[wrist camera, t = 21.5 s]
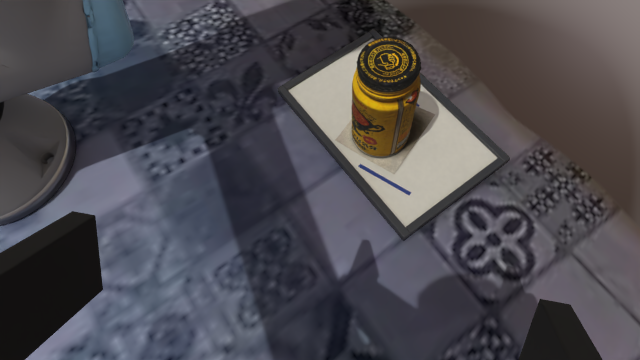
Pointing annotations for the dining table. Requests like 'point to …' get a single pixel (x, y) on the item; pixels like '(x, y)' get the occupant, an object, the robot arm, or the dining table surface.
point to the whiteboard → (422, 161)
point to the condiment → (386, 103)
